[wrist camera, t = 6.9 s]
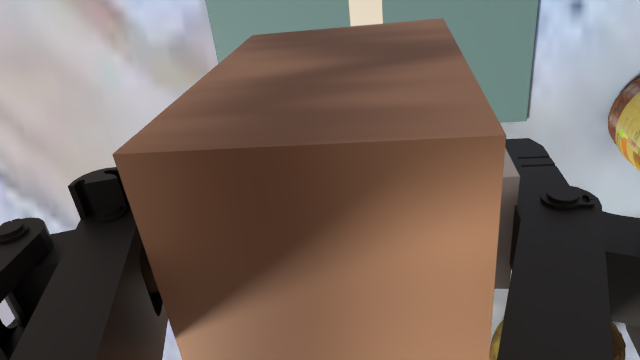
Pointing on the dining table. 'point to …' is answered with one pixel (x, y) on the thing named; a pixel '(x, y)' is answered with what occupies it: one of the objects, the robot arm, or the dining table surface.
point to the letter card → (401, 6)
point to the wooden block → (325, 199)
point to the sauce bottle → (627, 123)
